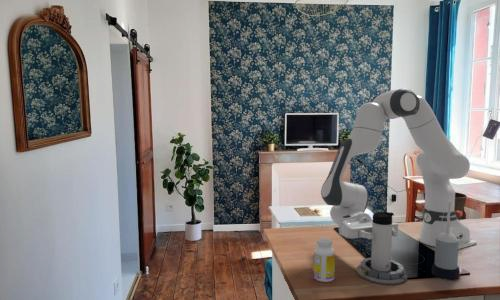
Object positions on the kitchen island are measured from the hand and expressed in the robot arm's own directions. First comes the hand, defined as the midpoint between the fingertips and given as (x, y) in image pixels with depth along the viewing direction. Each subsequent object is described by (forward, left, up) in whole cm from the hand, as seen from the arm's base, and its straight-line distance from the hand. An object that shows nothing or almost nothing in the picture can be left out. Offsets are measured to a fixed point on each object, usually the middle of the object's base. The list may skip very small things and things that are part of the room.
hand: (384, 235), depth 123 cm
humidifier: (-20, +6, -14) cm, 25 cm away
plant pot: (-62, -35, -14) cm, 72 cm away
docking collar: (0, -1, -13) cm, 14 cm away
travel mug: (0, -1, -13) cm, 13 cm away
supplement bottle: (+20, -4, -14) cm, 24 cm away
